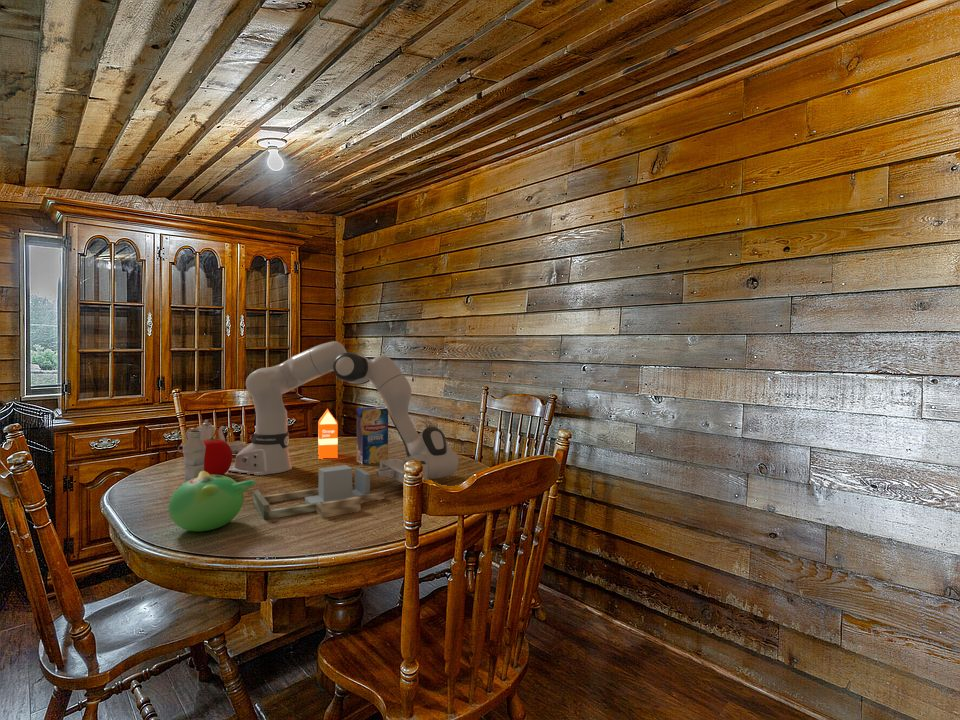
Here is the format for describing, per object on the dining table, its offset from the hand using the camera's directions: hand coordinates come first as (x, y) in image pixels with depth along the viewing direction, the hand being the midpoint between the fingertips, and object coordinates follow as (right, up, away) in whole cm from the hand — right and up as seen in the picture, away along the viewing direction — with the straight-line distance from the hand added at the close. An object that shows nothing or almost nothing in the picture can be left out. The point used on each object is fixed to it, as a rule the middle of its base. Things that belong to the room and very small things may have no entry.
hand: (377, 473), depth 172 cm
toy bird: (-38, -7, -34) cm, 51 cm away
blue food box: (-10, -4, +42) cm, 44 cm away
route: (-14, -7, -13) cm, 20 cm away
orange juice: (-31, -4, +49) cm, 58 cm away
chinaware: (-79, -3, +46) cm, 91 cm away
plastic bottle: (-58, -6, -4) cm, 58 cm away
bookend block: (-11, -7, -7) cm, 15 cm away
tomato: (-63, -5, +17) cm, 65 cm away
